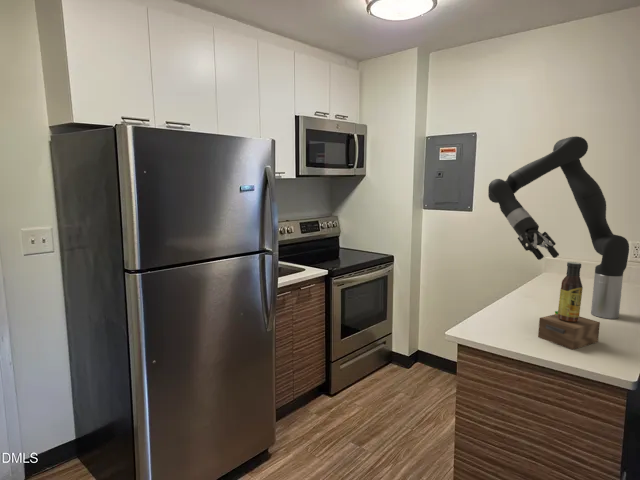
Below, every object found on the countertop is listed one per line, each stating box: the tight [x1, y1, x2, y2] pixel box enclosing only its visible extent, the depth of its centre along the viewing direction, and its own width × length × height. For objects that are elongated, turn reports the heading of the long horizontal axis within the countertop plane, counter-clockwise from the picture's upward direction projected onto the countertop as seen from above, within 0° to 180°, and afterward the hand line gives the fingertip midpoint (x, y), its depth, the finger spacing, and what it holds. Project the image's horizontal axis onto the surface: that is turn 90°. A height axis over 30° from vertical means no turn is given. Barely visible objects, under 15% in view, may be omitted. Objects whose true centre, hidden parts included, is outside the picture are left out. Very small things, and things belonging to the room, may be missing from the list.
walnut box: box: [537, 313, 601, 350], centre depth 136 cm, size 15×12×7 cm
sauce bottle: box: [557, 261, 584, 322], centre depth 135 cm, size 6×6×20 cm
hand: (549, 257), depth 141 cm, fingers open, 8 cm apart
